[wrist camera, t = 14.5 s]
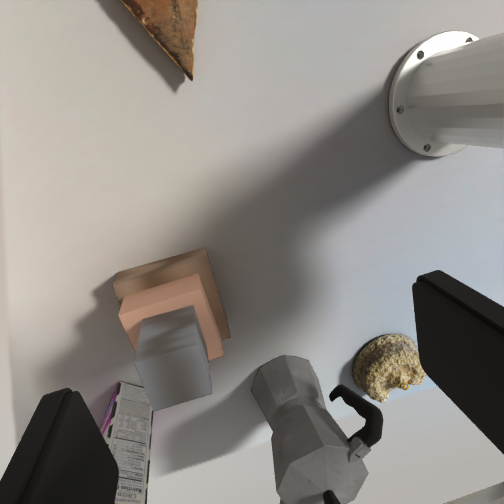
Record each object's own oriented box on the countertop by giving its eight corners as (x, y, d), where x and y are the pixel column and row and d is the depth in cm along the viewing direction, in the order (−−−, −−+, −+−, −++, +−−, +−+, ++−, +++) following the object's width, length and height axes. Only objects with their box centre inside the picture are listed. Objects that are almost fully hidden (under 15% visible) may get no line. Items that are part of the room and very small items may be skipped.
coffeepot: (276, 430, 53) (320, 572, 37) (226, 400, 50) (249, 541, 33) (352, 354, 51) (435, 467, 35) (304, 317, 48) (371, 423, 31)
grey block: (193, 304, 36) (196, 344, 30) (206, 347, 38) (212, 393, 32) (142, 319, 36) (133, 362, 29) (158, 361, 38) (153, 411, 31)
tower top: (198, 273, 40) (199, 288, 36) (220, 335, 43) (224, 355, 39) (124, 296, 39) (118, 315, 35) (151, 358, 42) (148, 381, 38)
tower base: (204, 246, 43) (207, 258, 39) (226, 320, 47) (230, 337, 43) (118, 270, 42) (112, 285, 38) (147, 343, 46) (144, 363, 42)
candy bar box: (129, 455, 50) (106, 601, 35) (90, 448, 49) (50, 597, 34) (158, 388, 48) (148, 514, 32) (118, 378, 46) (88, 506, 31)
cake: (338, 357, 51) (355, 382, 46) (401, 318, 51) (425, 339, 46) (367, 403, 55) (386, 431, 50) (426, 367, 55) (450, 392, 50)
